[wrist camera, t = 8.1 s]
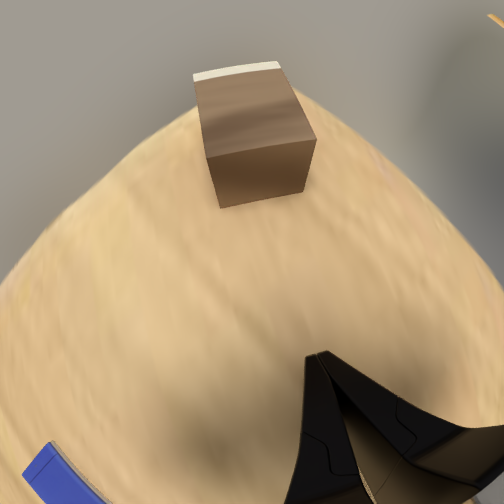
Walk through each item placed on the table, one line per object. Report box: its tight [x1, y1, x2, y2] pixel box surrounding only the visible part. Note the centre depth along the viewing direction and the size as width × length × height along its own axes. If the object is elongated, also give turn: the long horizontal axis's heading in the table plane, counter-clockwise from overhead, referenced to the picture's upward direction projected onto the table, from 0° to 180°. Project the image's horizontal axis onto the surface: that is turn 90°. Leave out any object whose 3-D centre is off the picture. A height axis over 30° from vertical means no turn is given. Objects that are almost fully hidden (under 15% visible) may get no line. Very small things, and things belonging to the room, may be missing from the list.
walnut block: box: [193, 61, 317, 209], centre depth 18 cm, size 6×6×8 cm
